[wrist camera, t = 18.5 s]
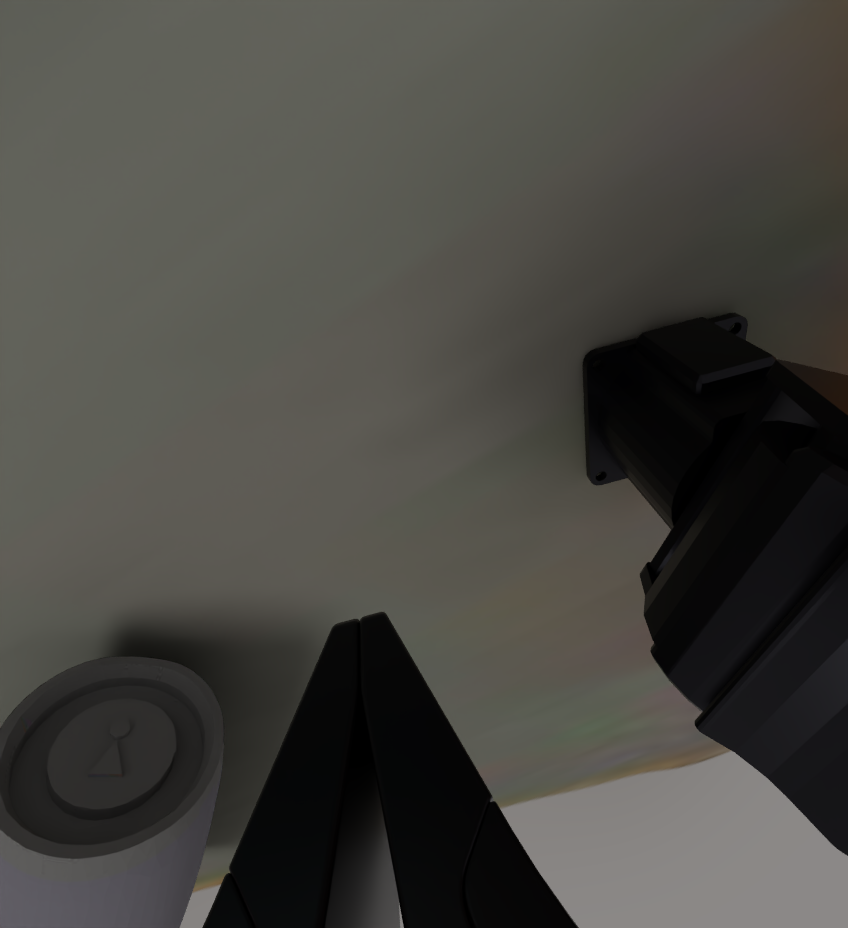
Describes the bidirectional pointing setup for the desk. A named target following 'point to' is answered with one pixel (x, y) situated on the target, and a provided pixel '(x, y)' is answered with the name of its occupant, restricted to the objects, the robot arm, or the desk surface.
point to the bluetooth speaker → (107, 795)
